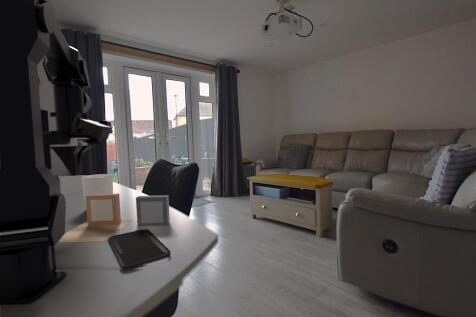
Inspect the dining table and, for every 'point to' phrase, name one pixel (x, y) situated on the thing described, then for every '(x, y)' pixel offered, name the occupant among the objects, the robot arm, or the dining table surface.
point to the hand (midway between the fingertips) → (74, 175)
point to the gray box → (152, 210)
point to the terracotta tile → (103, 209)
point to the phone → (137, 249)
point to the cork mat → (91, 232)
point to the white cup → (97, 184)
